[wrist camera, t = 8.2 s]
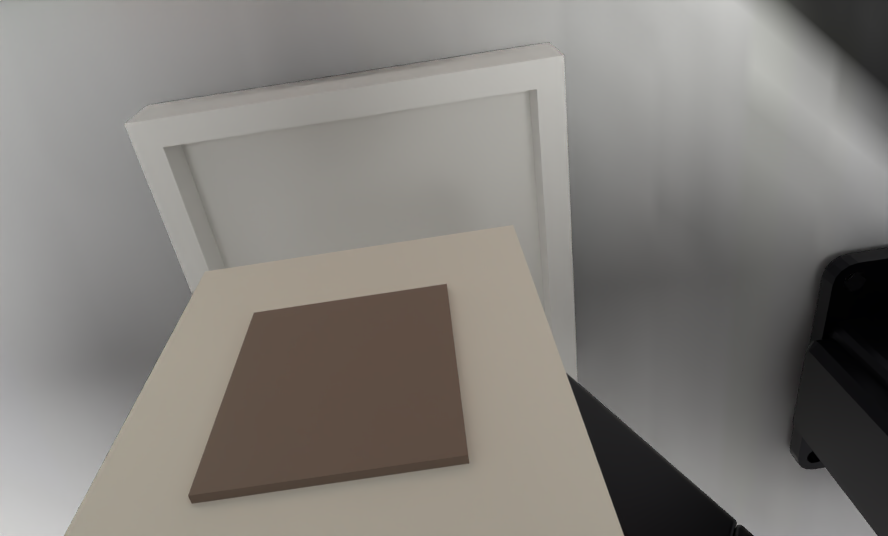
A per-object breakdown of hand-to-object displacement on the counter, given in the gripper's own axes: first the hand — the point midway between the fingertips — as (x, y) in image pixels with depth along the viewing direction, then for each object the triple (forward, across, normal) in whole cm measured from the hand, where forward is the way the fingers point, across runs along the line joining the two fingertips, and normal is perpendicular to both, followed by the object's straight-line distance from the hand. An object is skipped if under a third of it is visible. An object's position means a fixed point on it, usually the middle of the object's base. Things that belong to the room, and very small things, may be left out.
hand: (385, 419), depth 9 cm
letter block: (+1, 0, 0) cm, 1 cm away
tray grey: (+5, 0, 0) cm, 5 cm away
